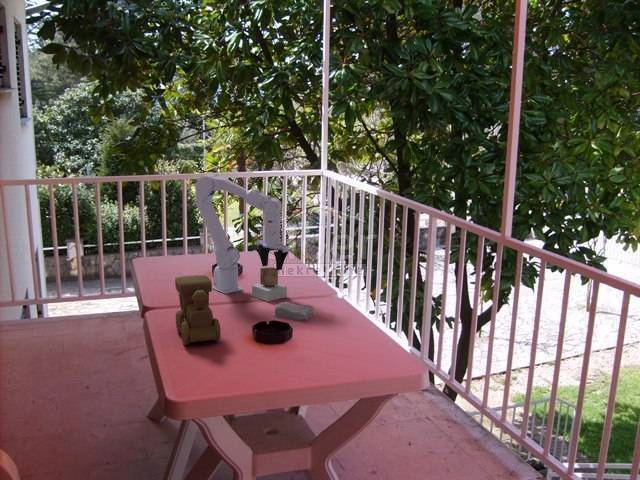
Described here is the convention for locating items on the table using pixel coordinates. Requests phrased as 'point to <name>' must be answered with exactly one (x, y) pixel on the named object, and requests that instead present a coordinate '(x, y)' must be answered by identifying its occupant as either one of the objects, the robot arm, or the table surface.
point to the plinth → (269, 292)
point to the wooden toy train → (195, 310)
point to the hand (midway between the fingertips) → (272, 267)
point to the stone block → (293, 311)
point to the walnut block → (268, 276)
